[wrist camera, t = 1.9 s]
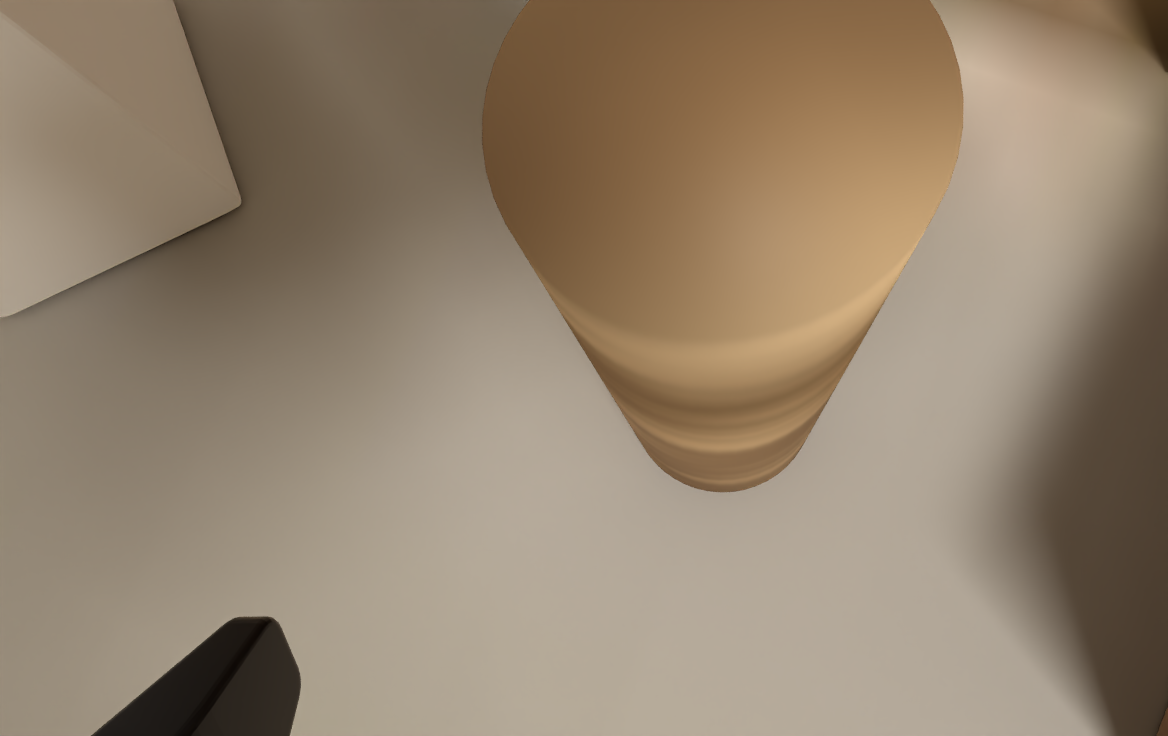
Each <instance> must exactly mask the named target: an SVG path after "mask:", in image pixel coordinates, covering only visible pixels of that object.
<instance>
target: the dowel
mask: <svg viewBox="0 0 1168 736" xmlns="http://www.w3.org/2000/svg"><path fill="white" fill-rule="evenodd" d="M962 130H963V91H962V84H961V76H960V69H959V65H958V62H957V59H956V55H955V52H954V49H953V45H952V42H951V39H950V37H949V35H948V33H947V31H946V29H945V26H944V24H943V22H942V20H941V18H940V16H939V14H938V12H937V11H936V9H935V8H934V6H933V5H932V3H931V2H930V0H529V2H528V3H527V4H526V6H525V7H524V8H523V10H522V11H521V12H520V13H519V15H518V17H517V18H516V20H515V22H514V23H513V25H512V27H511V28H510V30H509V32H508V34H507V35H506V37H505V39H504V41H503V43H502V46H501V48H500V50H499V53H498V55H497V57H496V60H495V62H494V65H493V68H492V72H491V75H490V79H489V82H488V86H487V89H486V96H485V103H484V110H483V117H482V145H483V152H484V159H485V166H486V173H487V176H488V179H489V183H490V186H491V190H492V193H493V197H494V199H495V202H496V204H497V206H498V208H499V210H500V213H501V215H502V217H503V219H504V221H505V224H506V225H507V227H508V228H509V230H510V232H511V233H512V235H513V237H514V238H515V240H516V241H517V243H518V245H519V246H520V248H521V249H522V251H523V253H524V254H525V256H526V258H527V259H528V261H529V262H530V264H531V266H532V267H533V269H534V271H535V272H536V274H537V275H538V277H539V279H540V280H541V282H542V283H543V285H544V287H545V288H546V290H547V292H548V293H549V295H550V296H551V298H552V300H553V301H554V303H555V304H556V306H557V308H558V309H559V311H560V313H561V314H562V316H563V317H564V319H565V321H566V322H567V324H568V326H569V327H570V329H571V330H572V332H573V334H574V335H575V337H576V338H577V340H578V342H579V343H580V345H581V347H582V348H583V350H584V351H585V353H586V355H587V356H588V358H589V359H590V361H591V363H592V364H593V366H594V368H595V369H596V371H597V372H598V374H599V376H600V377H601V379H602V381H603V382H604V384H605V385H606V387H607V389H608V390H609V392H610V393H611V395H612V397H613V398H614V400H615V402H616V403H617V405H618V406H619V408H620V410H621V411H622V413H623V414H624V416H625V418H626V419H627V421H628V423H629V424H630V426H631V427H632V429H633V431H634V432H635V434H636V435H637V437H638V439H639V440H640V442H641V444H642V445H643V447H644V448H645V450H646V451H647V453H648V455H649V456H650V457H651V458H652V459H653V461H654V462H655V463H656V464H657V465H658V466H659V467H660V468H661V469H662V470H663V471H664V472H666V473H667V474H669V475H670V476H671V477H673V478H674V479H676V480H678V481H680V482H682V483H684V484H686V485H689V486H691V487H694V488H697V489H701V490H706V491H713V492H734V491H740V490H745V489H748V488H751V487H755V486H757V485H759V484H762V483H764V482H766V481H768V480H769V479H771V478H773V477H774V476H776V475H777V474H778V473H780V472H781V471H782V470H783V469H784V468H786V467H787V466H788V464H789V463H790V462H791V461H792V460H793V459H794V458H795V456H796V455H797V453H798V452H799V450H800V449H801V447H802V446H803V444H804V442H805V440H806V439H807V437H808V435H809V433H810V432H811V430H812V428H813V426H814V425H815V423H816V421H817V419H818V418H819V416H820V414H821V412H822V411H823V409H824V407H825V405H826V404H827V402H828V400H829V398H830V397H831V395H832V393H833V391H834V390H835V388H836V386H837V384H838V382H839V381H840V379H841V377H842V375H843V374H844V372H845V370H846V368H847V367H848V365H849V363H850V361H851V360H852V358H853V356H854V354H855V353H856V351H857V349H858V347H859V346H860V344H861V342H862V340H863V339H864V337H865V335H866V333H867V332H868V330H869V328H870V326H871V325H872V323H873V321H874V319H875V318H876V316H877V314H878V312H879V311H880V309H881V307H882V305H883V304H884V302H885V300H886V298H887V297H888V295H889V293H890V291H891V290H892V288H893V286H894V284H895V283H896V281H897V279H898V277H899V276H900V274H901V272H902V270H903V268H904V267H905V265H906V263H907V261H908V260H909V258H910V256H911V254H912V253H913V251H914V249H915V247H916V246H917V244H918V242H919V240H920V239H921V237H922V235H923V233H924V232H925V230H926V228H927V226H928V225H929V223H930V221H931V219H932V218H933V216H934V214H935V212H936V210H937V208H938V206H939V204H940V202H941V200H942V198H943V196H944V194H945V192H946V190H947V188H948V186H949V183H950V180H951V177H952V174H953V170H954V167H955V164H956V161H957V158H958V153H959V147H960V142H961V136H962Z"/></svg>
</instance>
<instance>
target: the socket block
mask: <svg viewBox="0 0 1168 736" xmlns="http://www.w3.org/2000/svg"><path fill="white" fill-rule="evenodd" d="M1156 736H1168V707H1167V710H1166V712H1165V715H1164V717H1163V720H1162V722H1161V725H1160V728H1159V730H1158V733H1157V735H1156Z"/></svg>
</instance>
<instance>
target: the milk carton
mask: <svg viewBox="0 0 1168 736" xmlns="http://www.w3.org/2000/svg"><path fill="white" fill-rule="evenodd" d="M240 204H241V197H240V194H239V191H238V188H237V185H236V182H235V179H234V176H233V173H232V170H231V167H230V164H229V162H228V159H227V156H226V153H225V150H224V147H223V144H222V141H221V138H220V135H219V132H218V130H217V127H216V124H215V121H214V118H213V115H212V112H211V109H210V106H209V103H208V100H207V97H206V95H205V92H204V89H203V86H202V83H201V80H200V77H199V74H198V71H197V68H196V65H195V63H194V60H193V57H192V54H191V51H190V48H189V45H188V42H187V39H186V36H185V33H184V31H183V28H182V25H181V22H180V19H179V16H178V13H177V10H176V7H175V4H174V1H173V0H0V317H6V316H9V315H12V314H15V313H17V312H19V311H21V310H23V309H26V308H28V307H30V306H32V305H34V304H36V303H38V302H41V301H43V300H45V299H47V298H49V297H51V296H53V295H55V294H57V293H59V292H62V291H64V290H66V289H68V288H70V287H72V286H74V285H76V284H78V283H81V282H83V281H85V280H87V279H89V278H91V277H93V276H95V275H97V274H100V273H102V272H104V271H106V270H108V269H110V268H112V267H114V266H116V265H119V264H121V263H123V262H125V261H127V260H129V259H131V258H133V257H135V256H138V255H140V254H142V253H144V252H146V251H148V250H150V249H152V248H154V247H156V246H159V245H161V244H163V243H165V242H167V241H169V240H171V239H173V238H175V237H178V236H180V235H182V234H184V233H186V232H188V231H190V230H192V229H194V228H197V227H199V226H201V225H203V224H205V223H207V222H209V221H211V220H213V219H215V218H218V217H220V216H222V215H224V214H226V213H228V212H230V211H232V210H233V209H235V208H237V207H238V206H240Z"/></svg>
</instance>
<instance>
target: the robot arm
mask: <svg viewBox="0 0 1168 736" xmlns="http://www.w3.org/2000/svg"><path fill="white" fill-rule="evenodd" d="M300 688H301V678H300V672H299V669H298V666H297V664H296V661H295V659H294V657H293V654H292V652H291V650H290V647H289V645H288V643H287V640H286V638H285V635H284V633H283V631H282V628H281V626H280V624H279V623H278V622H277V621H276V620H275V619H274V618H272V617H237V618H234V619H232V620H230V621H228V622H227V623H225V624H224V625H223V626H222V627H220V628H219V629H218V630H217V631H216V632H214V633H213V634H212V635H211V636H210V637H208V638H207V639H206V640H205V641H204V642H203V643H201V644H200V645H199V646H198V647H197V648H195V649H194V650H193V651H192V652H191V653H189V654H188V655H187V656H186V657H185V658H183V659H182V660H181V661H180V662H179V663H177V664H176V665H175V666H174V667H173V668H171V669H170V670H169V671H168V672H167V673H165V674H164V675H163V676H162V677H161V678H159V679H158V680H157V681H156V682H155V683H153V684H152V685H151V686H150V687H149V688H148V689H146V690H145V691H144V692H143V693H142V694H140V695H139V696H138V697H137V698H136V699H134V700H133V701H132V702H131V703H130V704H128V705H127V706H126V707H125V708H124V709H122V710H121V711H120V712H119V713H118V714H116V715H115V716H114V717H113V718H112V719H110V720H109V721H108V722H107V723H106V724H104V725H103V726H102V727H101V728H100V729H98V730H97V731H96V732H95V733H94V734H93V735H91V736H290V733H291V729H292V725H293V720H294V716H295V712H296V708H297V704H298V700H299V695H300Z"/></svg>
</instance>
